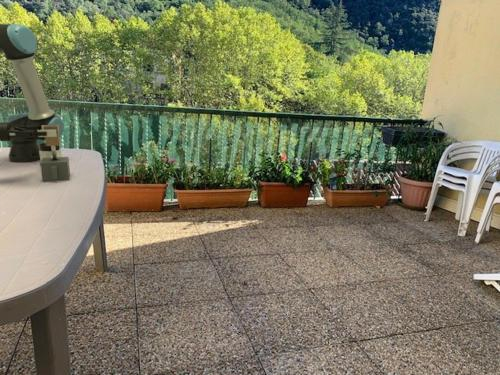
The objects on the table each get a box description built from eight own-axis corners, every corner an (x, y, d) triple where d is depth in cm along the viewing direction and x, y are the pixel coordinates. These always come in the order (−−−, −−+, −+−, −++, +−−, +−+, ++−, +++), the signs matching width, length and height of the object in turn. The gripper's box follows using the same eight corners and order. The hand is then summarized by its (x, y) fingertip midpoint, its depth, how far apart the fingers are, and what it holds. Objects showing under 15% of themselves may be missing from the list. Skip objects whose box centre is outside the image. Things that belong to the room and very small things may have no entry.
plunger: (48, 159, 165) (44, 125, 161) (61, 158, 167) (57, 125, 163) (47, 161, 162) (43, 126, 157) (60, 160, 163) (57, 126, 159)
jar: (42, 172, 174) (39, 146, 171) (40, 168, 181) (37, 143, 177) (64, 170, 179) (61, 144, 175) (61, 166, 185) (58, 141, 182)
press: (45, 175, 169) (42, 157, 167) (70, 174, 173) (68, 156, 171) (41, 183, 158) (39, 164, 155) (68, 182, 161) (66, 163, 159)
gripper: (6, 136, 166) (60, 134, 174) (-8, 147, 144) (56, 144, 151) (3, 118, 164) (58, 117, 171) (-11, 127, 142) (53, 125, 149)
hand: (57, 130), depth 161 cm, fingers open, 13 cm apart
